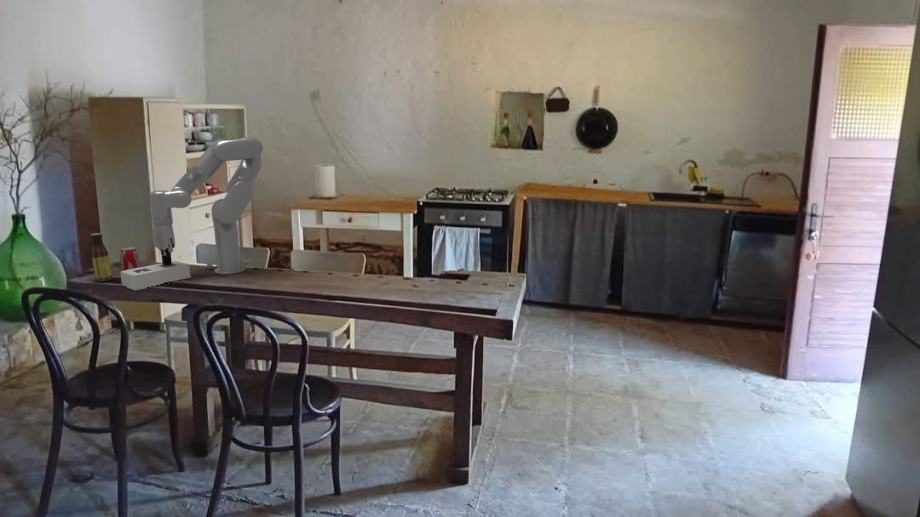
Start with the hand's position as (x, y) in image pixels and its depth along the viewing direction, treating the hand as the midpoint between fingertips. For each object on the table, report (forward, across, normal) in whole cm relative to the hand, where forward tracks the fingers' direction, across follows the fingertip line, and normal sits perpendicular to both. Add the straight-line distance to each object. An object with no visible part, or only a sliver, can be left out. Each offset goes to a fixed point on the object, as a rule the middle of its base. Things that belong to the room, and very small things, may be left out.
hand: (167, 264), depth 277 cm
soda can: (+7, -20, -6) cm, 22 cm away
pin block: (+6, 0, -5) cm, 8 cm away
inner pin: (+6, 0, 0) cm, 6 cm away
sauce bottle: (+7, -21, -18) cm, 28 cm away
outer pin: (+7, 0, -10) cm, 12 cm away
